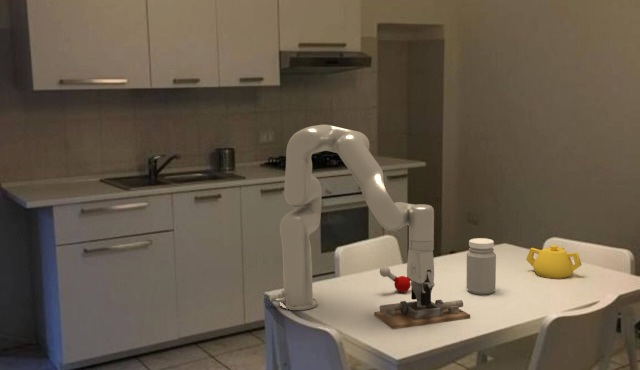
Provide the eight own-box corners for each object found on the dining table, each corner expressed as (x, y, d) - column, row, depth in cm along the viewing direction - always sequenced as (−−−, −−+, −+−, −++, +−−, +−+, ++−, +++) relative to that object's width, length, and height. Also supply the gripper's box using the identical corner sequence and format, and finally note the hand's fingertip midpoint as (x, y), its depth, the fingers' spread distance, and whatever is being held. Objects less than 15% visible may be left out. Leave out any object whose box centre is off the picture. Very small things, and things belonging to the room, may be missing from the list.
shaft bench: (393, 329, 211) (392, 312, 210) (374, 315, 224) (374, 299, 223) (470, 318, 219) (470, 302, 218) (447, 305, 232) (447, 289, 231)
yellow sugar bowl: (587, 270, 270) (588, 242, 269) (576, 282, 255) (577, 252, 253) (534, 264, 281) (535, 237, 279) (520, 275, 266) (521, 246, 264)
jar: (461, 292, 246) (461, 241, 244) (475, 285, 253) (476, 236, 251) (486, 297, 239) (486, 245, 237) (500, 290, 247) (501, 240, 244)
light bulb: (426, 311, 217) (426, 280, 215) (408, 308, 220) (408, 277, 219) (433, 306, 222) (434, 275, 220) (416, 303, 225) (416, 272, 224)
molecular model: (385, 298, 241) (385, 269, 240) (376, 293, 246) (376, 265, 245) (428, 290, 249) (428, 262, 248) (418, 286, 254) (418, 258, 253)
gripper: (398, 240, 225) (398, 295, 228) (423, 252, 209) (422, 311, 212) (419, 238, 227) (419, 293, 230) (445, 249, 211) (445, 308, 214)
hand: (421, 301), depth 221 cm, fingers closed on light bulb, 5 cm apart
